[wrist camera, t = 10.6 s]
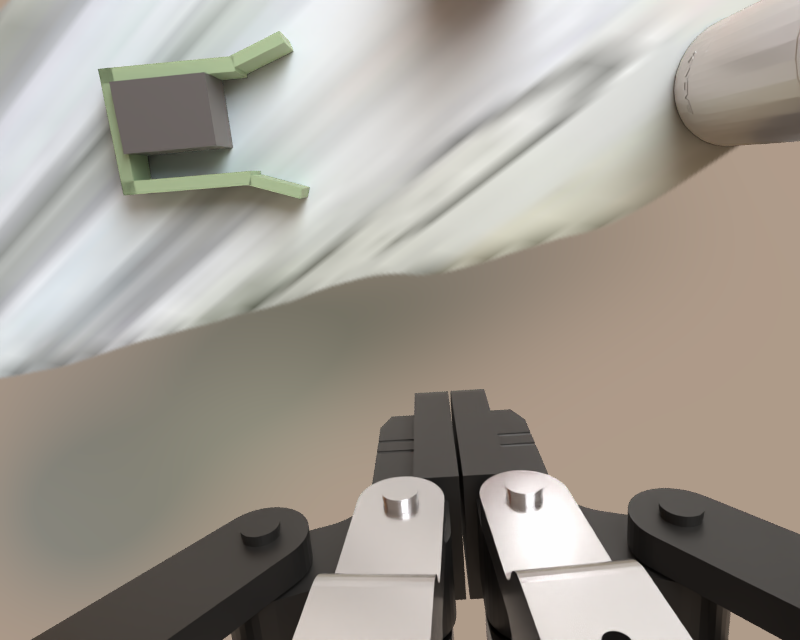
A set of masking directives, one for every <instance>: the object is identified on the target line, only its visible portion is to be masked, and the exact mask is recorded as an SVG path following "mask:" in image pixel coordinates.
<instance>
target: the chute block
mask: <svg viewBox="0 0 800 640" xmlns="http://www.w3.org/2000/svg"><path fill="white" fill-rule="evenodd" d="M109 84H110V89H111V94H112V99H113V104H114V109H115V114H116V118H117V123H118V128H119V133H120V138H121V143H122V148H123V153H124V154H130V155H147V156H148V155H159V154H170V153H180V152H191V151H202V150H212V149H223V148H233V144H232V138H231V132H230V125H229V119H228V113H227V106H226V100H225V93H224V87H223V81H222V80H220V79H218V78H216V77H214V76H212V75H210V74H207V73H205V72H201V73H191V74H181V75H171V76H161V77H151V78H141V79H131V80H121V81H112V82H109Z"/></svg>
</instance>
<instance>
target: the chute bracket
mask: <svg viewBox="0 0 800 640" xmlns="http://www.w3.org/2000/svg"><path fill="white" fill-rule="evenodd" d="M291 52H293V49H292V46H291V44H290V42H289V40H288V39H287V38H286V37H285V36H284V35H283V34H282V33H281V32H280V31H278V32H276V33H274V34H272V35H270V36H269V37H267V38H265V39H263V40H261V41H259V42H257V43H255V44H253V45H251V46H249V47H247V48H245V49H243V50H241V51H239V52H237V53H235V54H233V55H231V56H229V57H219V58H208V59H198V60H187V61H177V62H166V63H156V64H145V65H135V66H124V67H114V68H104V69H98V71H99V76H100V81H101V86H102V91H103V96H104V101H105V106H106V111H107V116H108V120H109V125H110V130H111V135H112V140H113V145H114V150H115V155H116V160H117V165H118V170H119V175H120V180H121V185H122V189H123V194H124V195H134V194H146V193H158V192H171V191H183V190H195V189H207V188H219V187H231V186H243V185H249V186H253V187H257V188H261V189H265V190H268V191H272V192H276V193H280V194H284V195H287V196H291V197H295V198H299V199H301V198H306V197H308V193H309V188H310V187H307V186H303V185H299V184H296V183H292V182H288V181H284V180H280V179H277V178H273V177H269V176H265V175H261V171H246V172H234V173H222V174H210V175H198V176H186V177H175V178H163V179H152V178H151V173H150V168H149V162H148V157H147V155H130V154H124V153H123V148H122V143H121V138H120V133H119V128H118V123H117V118H116V114H115V109H114V104H113V99H112V94H111V89H110V84H109V82H112V81H121V80H131V79H141V78H151V77H161V76H171V75H181V74H191V73H201V72H205V73H207V74H210V75H212V76H214V77H216V78H218V79H220V80H229V79H240V78H247V74H248V73H250V72H252V71H254V70H256V69H258V68H260V67H262V66H264V65H266V64H269V63H271V62H273V61H275V60H277V59H279V58H281V57H283V56H285V55H287V54H289V53H291Z"/></svg>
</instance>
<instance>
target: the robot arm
mask: <svg viewBox="0 0 800 640" xmlns="http://www.w3.org/2000/svg"><path fill="white" fill-rule="evenodd" d="M674 91H675V103H676V106H677V110H678V113H679V115H680V117H681V119H682V121H683V123H684V125H685V126H686V127H687V128H688V129H689V130H690V131H691V132H692V133H693V134H694V135H695V136H697V137H698V138H700V139H701V140H703V141H706V142H708V143H711V144H714V145H721V146H737V145H751V144H768V143H781V142H794V141H800V0H761V1H759V2H757V3H755V4H753V5H751V6H749V7H746V8H744V9H742V10H740V11H738V12H736V13H734V14H732V15H730V16H728V17H726V18H724V19H722V20H721V21H719V22H717V23H715V24H713V25H711V26H710V27H708V28H707V29H706V30H705V31H703V32H702V33H701V34H700V35H699V36H697V38H696V39H695V40H694V41H693V42H692V44H691V45H690V46H689V47H688V49H687V51H686V52H685V54H684V56H683V58H682V59H681V62H680V65H679V68H678V70H677V73H676V80H675V87H674ZM414 412H415V413H414V415H413V416H397V417H391V418H390V419H389V420H388V421H387V422H386V423H385V424H384V425H383V426H382V427H381V429H380V436H379V444H378V450H377V457H376V463H375V470H374V477H373V483H372V485H371V486H370V487H368V488H367V489H365V490H364V491H363V492H362V494H361V495H360V496H359V499H358V501H357V504H356V507H355V511H354V514H353V516H352V517H350V518H348V519H346V520H344V521H341V522H339V523H336V524H333V525H329V526H326V527H322V528H318V529H314V530H311V531H309V526H308V522H307V519H306V518H305V517H304V516H303V515H302V514H301V513H299V512H297V511H295V510H293V509H288V508H280V507H275V508H264V509H260V510H256V511H252V512H249V513H247V514H244V515H242V516H240V517H238V518H236V519H234V520H233V521H231V522H229V523H228V524H226V525H224V526H222V527H221V528H219V529H217V530H216V531H214V532H212V533H211V534H209V535H207V536H206V537H204V538H202V539H201V540H199V541H197V542H195V543H194V544H192V545H190V546H189V547H187V548H185V549H184V550H182V551H180V552H178V553H177V554H176V555H174V556H172V557H170V558H168V559H167V560H165V561H164V562H162V563H160V564H158V565H157V566H155V567H153V568H152V569H150V570H148V571H147V572H145V573H143V574H141V575H140V576H138V577H136V578H135V579H133V580H131V581H130V582H128V583H126V584H125V585H123V586H121V587H119V588H118V589H116V590H114V591H113V592H111V593H109V594H108V595H106V596H104V597H103V598H101V599H99V600H98V601H96V602H94V603H92V604H91V605H89V606H87V607H86V608H84V609H82V610H81V611H79V612H77V613H76V614H74V615H72V616H71V617H69V618H67V619H66V620H64V621H62V622H60V623H59V624H57V625H55V626H54V627H52V628H50V629H49V630H47V631H45V632H44V633H42V634H40V635H38V636H37V637H35V638H33V639H32V640H223V639H224V638H225V637H227V636H228V635H229V634H231V635H232V640H454V634H453V626H454V624H455V621H456V601H455V600H459V599H460V600H462V599H466V590H465V572H464V556H463V544H464V552H465V560H466V569H467V577H468V585H469V594H470V599H480V598H484V605H485V612H486V633H487V640H728V635H729V623H730V612H732V613H734V614H736V615H738V616H740V617H742V618H743V619H745V620H747V621H749V622H751V623H753V624H754V625H756V626H758V627H760V628H762V629H764V630H766V631H767V632H769V633H771V634H773V635H775V636H777V637H779V638H780V639H782V640H800V534H798V533H795V532H793V531H790V530H788V529H785V528H783V527H780V526H778V525H775V524H773V523H770V522H768V521H765V520H763V519H760V518H758V517H755V516H753V515H750V514H748V513H746V512H743V511H741V510H738V509H736V508H733V507H730V506H728V505H726V504H723V503H721V502H718V501H716V500H713V499H711V498H708V497H706V496H703V495H700V494H697V493H694V492H690V491H686V490H680V489H670V488H659V489H652V490H646V491H644V492H641V493H639V494H637V495H635V496H634V497H633V498H632V499H631V501H630V502H629V505H628V515H624V514H617V513H610V512H604V511H598V510H593V509H589V508H585V507H582V506H580V505H577V503H576V502H575V500H574V498H573V497H572V495H571V493H570V492H569V490H568V489H567V487H566V486H565V485H564V484H563V483H562V482H561V481H559V480H558V479H556V478H554V477H552V476H550V475H548V473H547V470H546V468H545V466H544V463H543V461H542V459H541V456H540V454H539V451H538V449H537V447H536V445H535V442H534V440H533V438H532V435H531V434H530V430H529V428H528V426H527V423H526V421H525V419H523V418H522V417H521V416H519V415H518V414H516V413H515V412H513V411H512V410H494V411H490V408H489V405H488V401H487V398H486V394H485V391H484V389H477V390H461V391H451V412H452V421H451V414H450V405H449V398H448V392H447V391H446V392H432V393H431V392H430V393H415V411H414ZM462 535H463V538H462Z"/></svg>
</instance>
